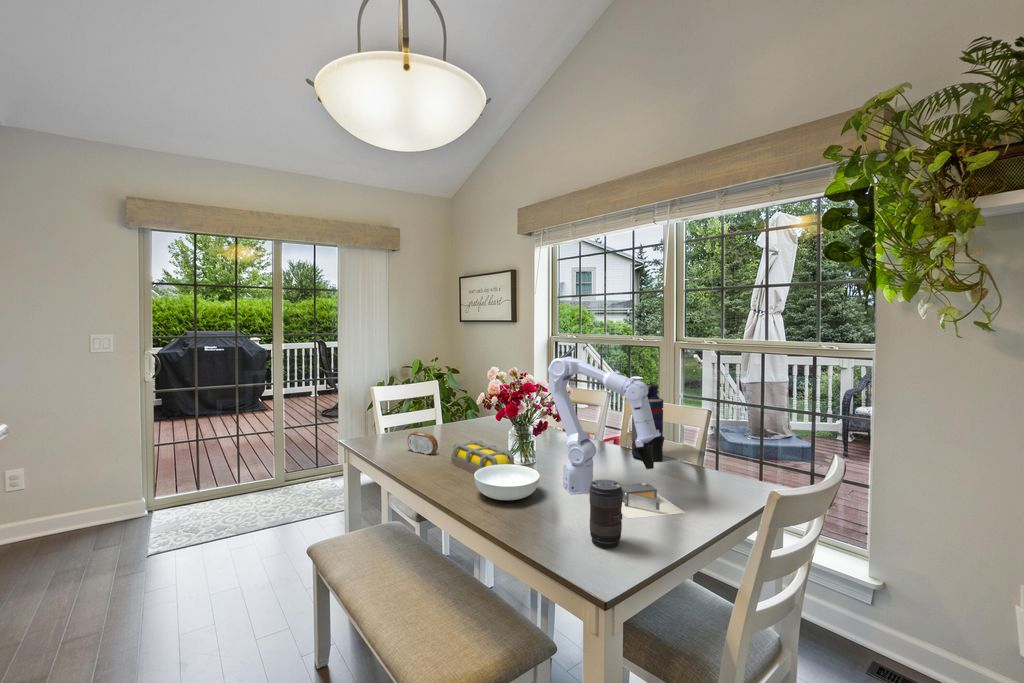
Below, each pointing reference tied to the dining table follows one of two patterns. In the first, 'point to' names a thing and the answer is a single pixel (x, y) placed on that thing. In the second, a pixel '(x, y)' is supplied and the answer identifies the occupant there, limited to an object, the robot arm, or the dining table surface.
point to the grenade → (657, 414)
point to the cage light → (479, 456)
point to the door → (642, 502)
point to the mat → (665, 509)
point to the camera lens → (605, 513)
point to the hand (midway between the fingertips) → (654, 465)
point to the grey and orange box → (639, 490)
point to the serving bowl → (507, 481)
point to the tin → (422, 442)
